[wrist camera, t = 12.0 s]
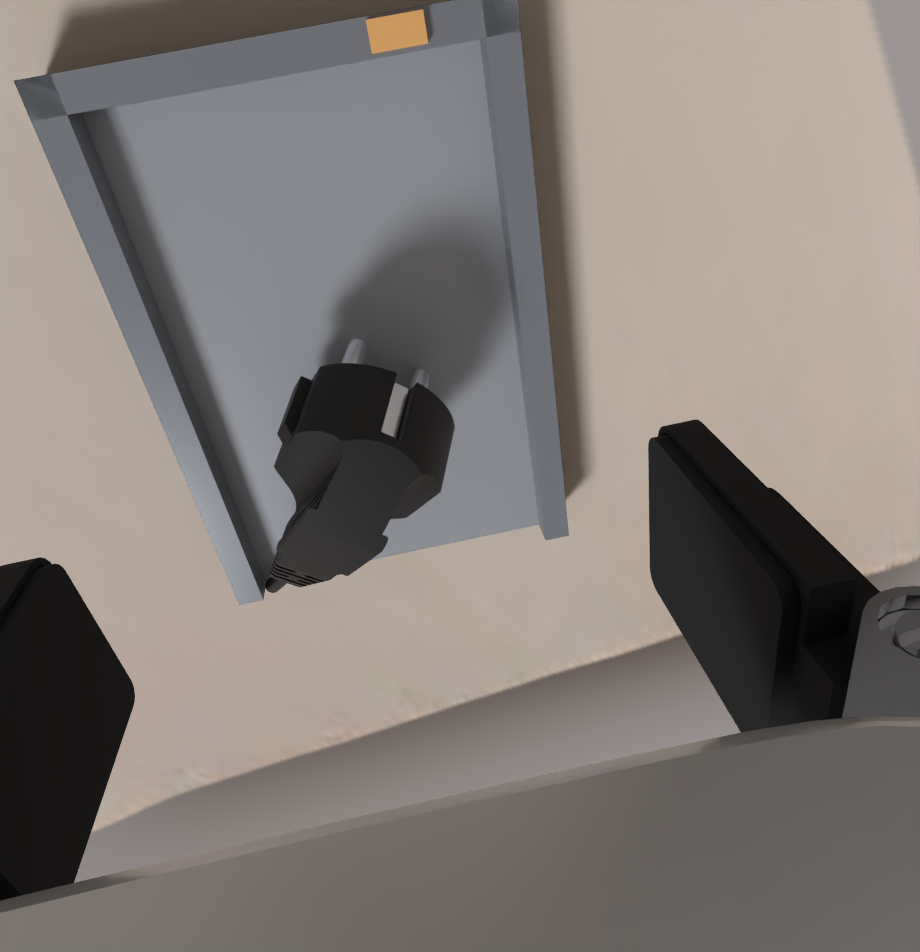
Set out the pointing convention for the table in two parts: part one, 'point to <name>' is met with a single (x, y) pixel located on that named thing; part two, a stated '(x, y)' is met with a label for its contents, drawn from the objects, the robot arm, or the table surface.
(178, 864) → the robot arm
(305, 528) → the power plug
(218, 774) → the table surface
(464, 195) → the dock
